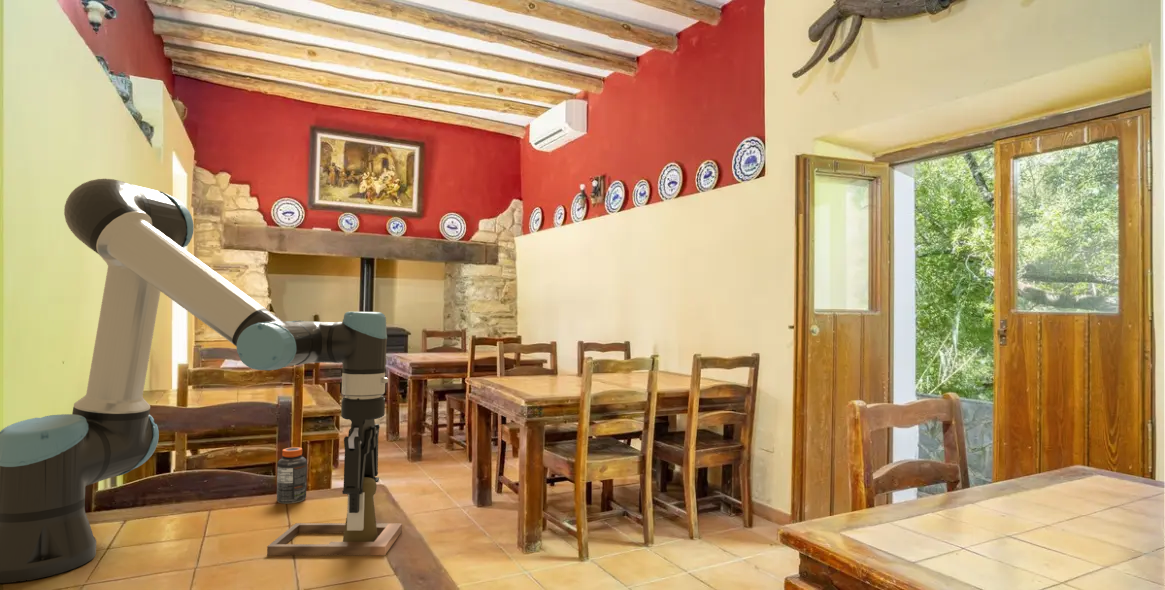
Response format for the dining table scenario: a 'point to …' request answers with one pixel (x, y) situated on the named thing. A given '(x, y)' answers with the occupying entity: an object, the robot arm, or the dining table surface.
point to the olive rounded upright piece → (365, 516)
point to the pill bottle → (291, 476)
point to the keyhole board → (378, 547)
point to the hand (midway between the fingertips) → (360, 523)
